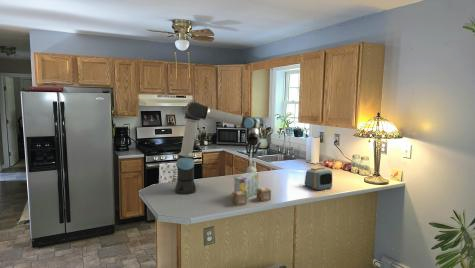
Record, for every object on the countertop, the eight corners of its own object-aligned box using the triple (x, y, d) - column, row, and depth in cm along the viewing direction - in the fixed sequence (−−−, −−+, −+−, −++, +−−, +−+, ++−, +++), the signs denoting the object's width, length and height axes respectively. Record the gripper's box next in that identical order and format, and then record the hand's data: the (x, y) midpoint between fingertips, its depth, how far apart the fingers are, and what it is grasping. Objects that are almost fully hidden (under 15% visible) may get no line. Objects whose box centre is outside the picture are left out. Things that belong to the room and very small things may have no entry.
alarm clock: (318, 191, 232) (319, 170, 230) (303, 185, 246) (304, 166, 244) (333, 188, 241) (334, 168, 239) (317, 183, 255) (319, 164, 253)
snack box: (252, 192, 226) (252, 171, 224) (258, 193, 222) (259, 173, 220) (233, 198, 209) (234, 177, 207) (239, 200, 206) (240, 179, 204)
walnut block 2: (256, 198, 212) (256, 188, 211) (265, 197, 215) (265, 187, 214) (261, 201, 206) (262, 191, 205) (270, 200, 209) (271, 190, 208)
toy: (259, 178, 263) (260, 161, 261) (246, 182, 251) (247, 164, 249) (250, 175, 270) (250, 159, 268) (237, 179, 258) (237, 161, 256)
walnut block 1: (232, 202, 203) (232, 191, 202) (241, 201, 206) (242, 190, 205) (237, 206, 196) (237, 195, 195) (246, 204, 199) (247, 193, 198)
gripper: (262, 138, 238) (259, 164, 224) (245, 137, 240) (241, 163, 226) (261, 132, 233) (259, 158, 218) (244, 131, 234) (241, 157, 220)
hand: (250, 161), depth 222 cm, fingers closed
